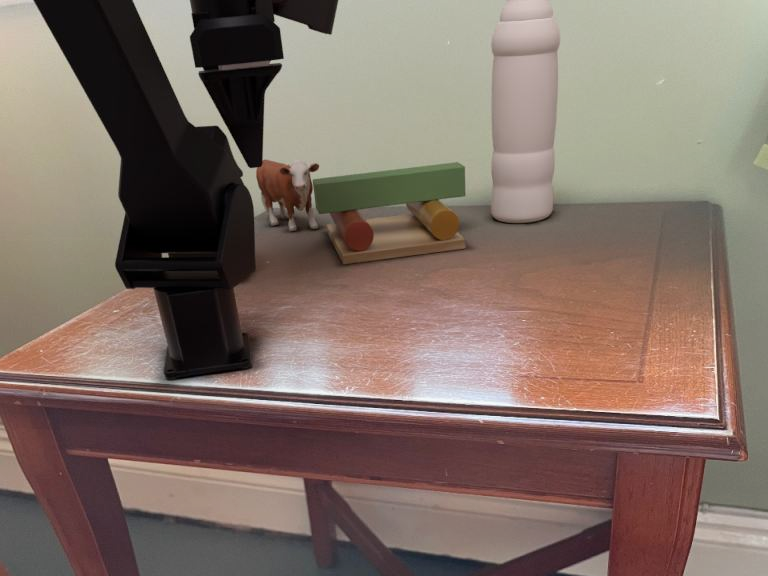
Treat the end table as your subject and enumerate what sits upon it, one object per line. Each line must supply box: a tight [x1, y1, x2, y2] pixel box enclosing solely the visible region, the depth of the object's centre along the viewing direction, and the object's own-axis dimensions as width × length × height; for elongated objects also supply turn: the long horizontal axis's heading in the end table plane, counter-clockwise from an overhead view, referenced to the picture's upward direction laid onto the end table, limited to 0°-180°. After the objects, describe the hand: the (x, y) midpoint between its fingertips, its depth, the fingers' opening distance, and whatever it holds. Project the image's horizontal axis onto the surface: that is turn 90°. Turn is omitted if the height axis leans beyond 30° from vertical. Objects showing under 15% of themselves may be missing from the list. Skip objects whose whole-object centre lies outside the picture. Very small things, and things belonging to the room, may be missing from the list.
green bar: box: [312, 161, 466, 215], centre depth 82 cm, size 3×16×3 cm, turn 100°
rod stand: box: [326, 199, 466, 265], centre depth 84 cm, size 14×13×4 cm
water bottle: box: [490, 0, 561, 224], centre depth 82 cm, size 7×7×25 cm
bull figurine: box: [255, 158, 320, 232], centre depth 91 cm, size 4×13×8 cm, turn 29°
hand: (253, 158), depth 64 cm, fingers open, 9 cm apart
